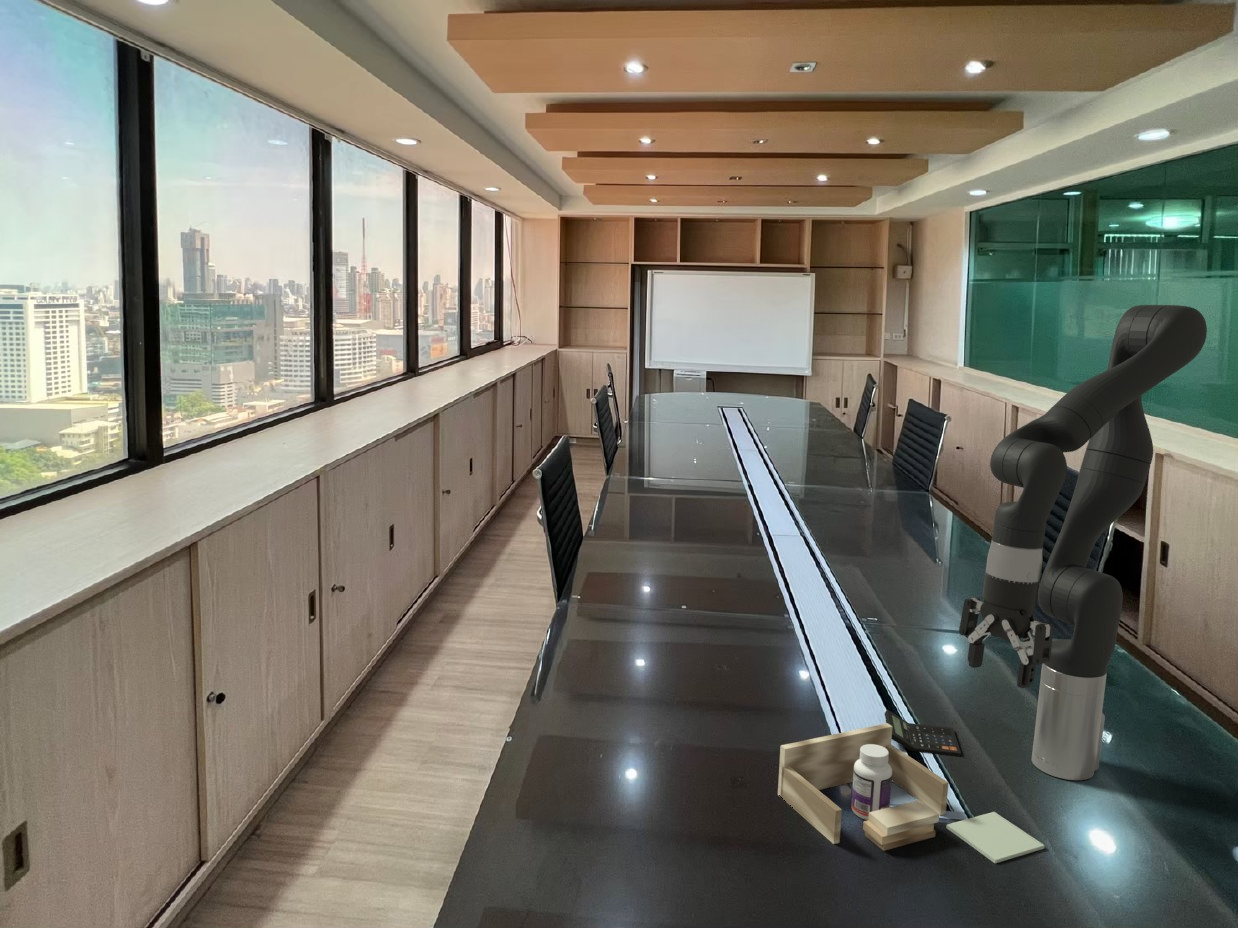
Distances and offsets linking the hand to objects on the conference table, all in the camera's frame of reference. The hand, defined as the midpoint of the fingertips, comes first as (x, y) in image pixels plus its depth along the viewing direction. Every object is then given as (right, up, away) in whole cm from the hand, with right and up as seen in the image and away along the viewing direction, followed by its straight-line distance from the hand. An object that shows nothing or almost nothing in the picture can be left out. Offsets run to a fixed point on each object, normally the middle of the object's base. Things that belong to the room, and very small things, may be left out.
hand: (998, 676), depth 140 cm
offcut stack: (-18, -20, -10) cm, 29 cm away
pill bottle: (-21, -19, -5) cm, 29 cm away
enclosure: (-22, -18, -3) cm, 29 cm away
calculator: (-6, -15, +18) cm, 25 cm away
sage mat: (-5, -20, -11) cm, 23 cm away
